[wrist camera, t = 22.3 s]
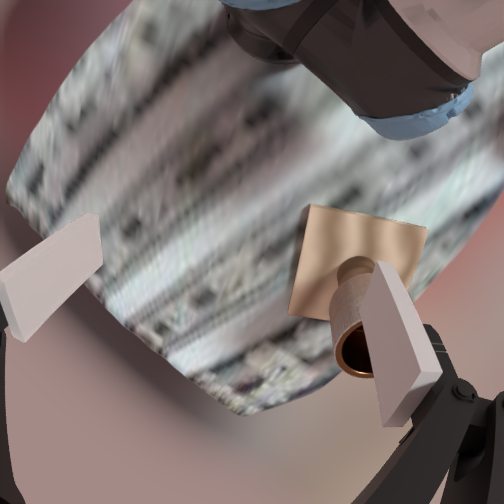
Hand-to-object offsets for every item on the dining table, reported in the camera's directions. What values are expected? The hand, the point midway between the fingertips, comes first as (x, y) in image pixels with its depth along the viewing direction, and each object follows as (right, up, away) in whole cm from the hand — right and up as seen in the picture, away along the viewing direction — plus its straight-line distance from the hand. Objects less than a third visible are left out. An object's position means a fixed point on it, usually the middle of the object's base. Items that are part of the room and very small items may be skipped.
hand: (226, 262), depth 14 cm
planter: (+17, -7, +29) cm, 34 cm away
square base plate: (+19, -3, +37) cm, 42 cm away
